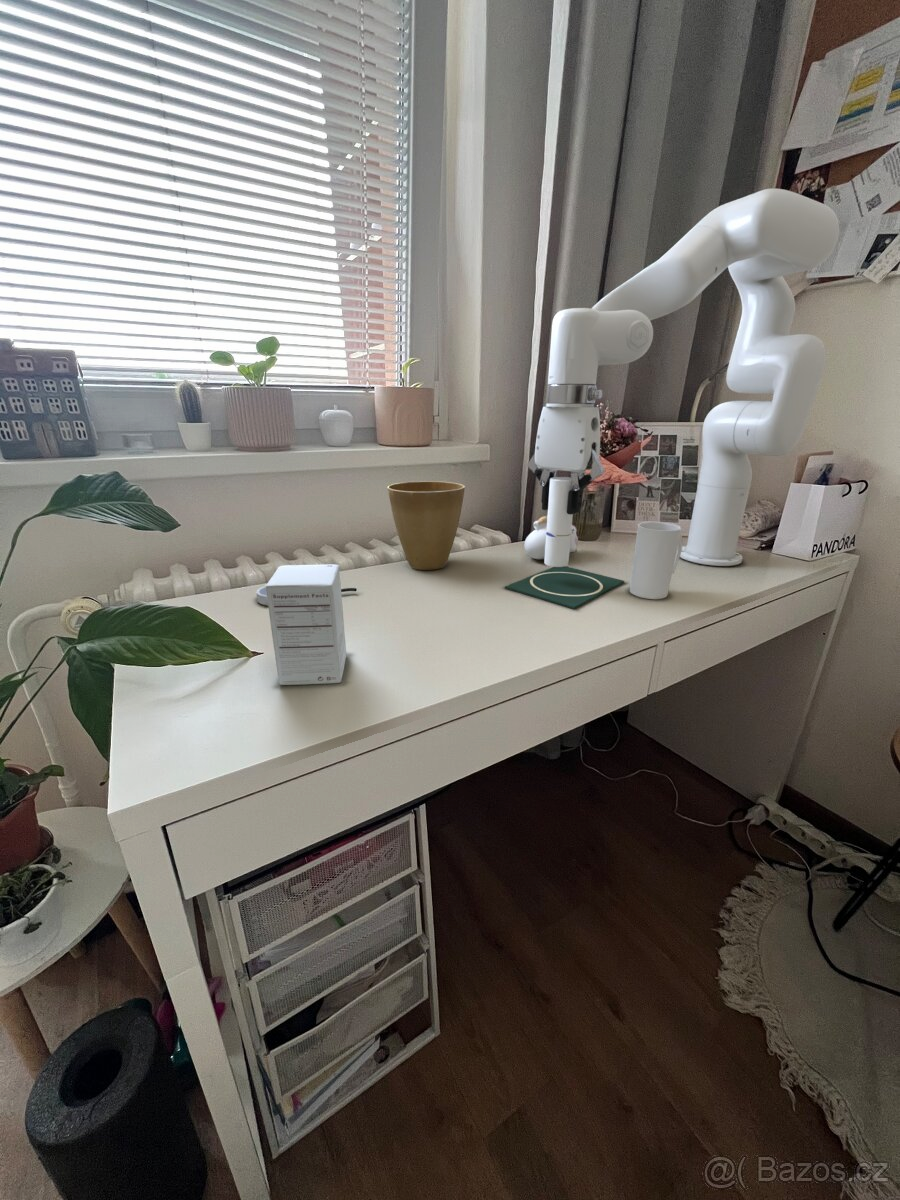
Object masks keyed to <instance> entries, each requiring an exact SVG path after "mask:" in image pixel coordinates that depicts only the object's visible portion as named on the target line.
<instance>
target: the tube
mask: <svg viewBox="0 0 900 1200" xmlns="http://www.w3.org/2000/svg"><path fill="white" fill-rule="evenodd" d="M569 490H572V481H571V477H569V476H555V477H553V478H550V487H549V501H548V510H547V515H546V516H547V530H546V545H545V559H543V561H544V562H543V563H544V564H545V565H546V566H549V567H551V568H552V567H564V566H566V567H568V565H569V560H570V552H569V551H570V539H571V528H572V522H573V516H574V514H568V513H567V504H568V493H569Z"/></svg>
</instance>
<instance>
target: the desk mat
mask: <svg viewBox="0 0 900 1200" xmlns="http://www.w3.org/2000/svg"><path fill="white" fill-rule="evenodd" d="M624 583H625V580H623V579H619V578H615V577H611V576H606V575H602V574H600V573H599V574H598V573H595V572H591V571H586V570H582V569H578V568H575V567H570V566H564V567H552V566H551V567H550V568H548V569H544V570H543V571H540V572H537V573H535V574H533V575H530V576H527V577H525V578H523V579H520V580H518V581H515V582H512V583H510V584H508V585H505V586H504V589H506V590H509V591H513V592H516V593H518V594H521V595H526V596H529V597H532V598H536V599H538V600H542V601H545V602H548V603H551V604H555V605H558V606H561V607H565V608H568V609H571V610H575V609H577V608H580V607H582V606H583V605H585V604H587V603H588V602H591V601H593V600H594V599H596V598H598V597H600V596H602V595H603V594H606V593H607V592H609V591H611V590H614V589H615V588H617V587H619V586H620V585H622V584H624Z"/></svg>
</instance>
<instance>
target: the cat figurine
mask: <svg viewBox="0 0 900 1200" xmlns="http://www.w3.org/2000/svg"><path fill="white" fill-rule="evenodd" d="M547 516H548V515H543V516H541V517H540V518H539V519H538V520H535V521H534V522H533V524H532V525H533V528H534V530H533V531H531V532H530V533H529V534H528V535H527V536H526V538H525V540H524V545H523V546H524V551H525V552H526V554H527V555H528V557H530V558H532V559H534V560H544V559H545V545H546V530H547ZM579 536H580V535H579V531H578V530H577V527H576V526H575V523H574V521H572V528H571V539H570V551H569V553H573V552H575V551H577V549H578V545H579Z"/></svg>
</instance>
